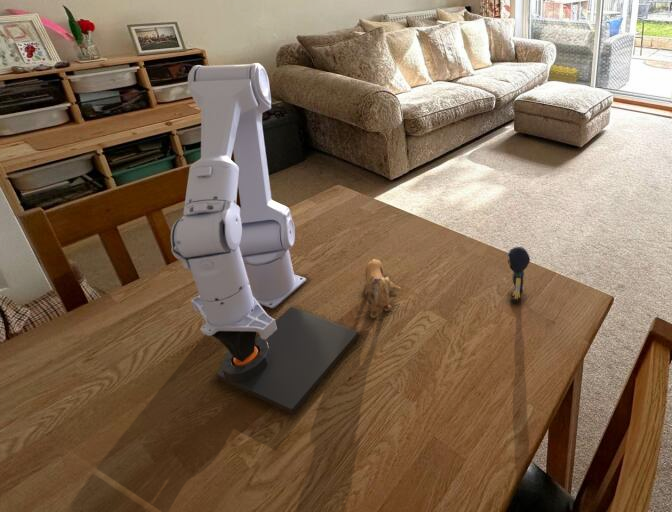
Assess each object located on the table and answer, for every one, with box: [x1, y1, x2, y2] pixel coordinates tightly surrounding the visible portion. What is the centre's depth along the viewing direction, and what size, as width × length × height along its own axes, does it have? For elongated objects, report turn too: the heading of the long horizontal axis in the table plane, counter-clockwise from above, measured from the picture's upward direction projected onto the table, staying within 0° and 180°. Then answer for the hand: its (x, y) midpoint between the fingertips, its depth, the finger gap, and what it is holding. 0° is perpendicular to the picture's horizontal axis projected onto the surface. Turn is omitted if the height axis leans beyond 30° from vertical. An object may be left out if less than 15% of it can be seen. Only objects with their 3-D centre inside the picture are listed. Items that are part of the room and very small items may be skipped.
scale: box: [215, 306, 360, 415], centre depth 65 cm, size 15×14×3 cm
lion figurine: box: [364, 258, 402, 319], centre depth 75 cm, size 15×5×9 cm, turn 33°
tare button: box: [233, 347, 259, 367], centre depth 62 cm, size 3×3×2 cm
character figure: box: [507, 246, 531, 304], centre depth 76 cm, size 9×4×12 cm, turn 178°
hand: (245, 355), depth 62 cm, fingers closed, pressing on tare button
